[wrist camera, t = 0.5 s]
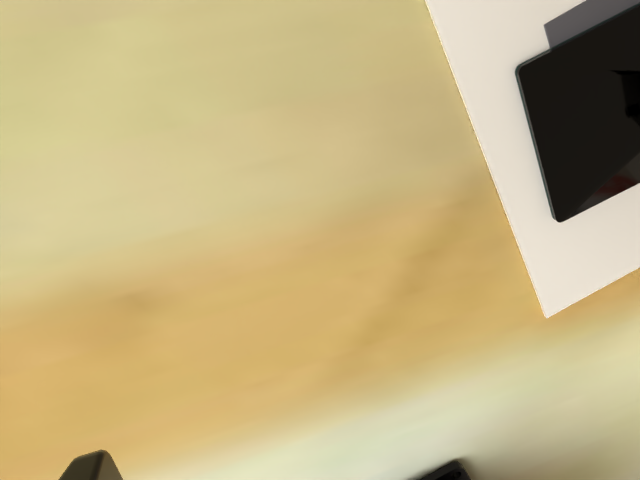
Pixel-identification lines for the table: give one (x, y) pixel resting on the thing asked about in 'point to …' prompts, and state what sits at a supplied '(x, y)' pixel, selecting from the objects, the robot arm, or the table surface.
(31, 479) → the table surface
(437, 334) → the table surface
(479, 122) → the letter tile
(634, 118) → the black stand
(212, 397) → the table surface
